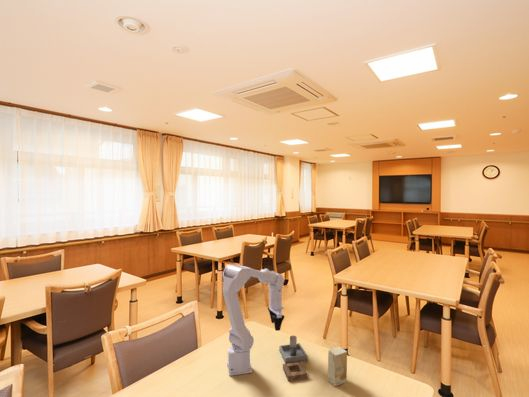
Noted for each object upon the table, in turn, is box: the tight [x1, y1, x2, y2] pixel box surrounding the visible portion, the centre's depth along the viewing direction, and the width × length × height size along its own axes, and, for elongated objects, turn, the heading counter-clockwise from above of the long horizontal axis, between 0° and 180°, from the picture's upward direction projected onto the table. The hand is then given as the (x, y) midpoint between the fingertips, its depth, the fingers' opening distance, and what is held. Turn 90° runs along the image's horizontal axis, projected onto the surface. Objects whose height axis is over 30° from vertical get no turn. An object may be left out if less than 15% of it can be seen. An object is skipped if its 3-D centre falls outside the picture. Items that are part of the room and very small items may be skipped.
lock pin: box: [289, 335, 297, 356], centre depth 128 cm, size 3×3×8 cm
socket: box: [282, 362, 308, 382], centre depth 116 cm, size 8×8×2 cm
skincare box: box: [327, 346, 348, 387], centre depth 111 cm, size 6×4×12 cm
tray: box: [278, 343, 308, 364], centre depth 129 cm, size 10×10×2 cm
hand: (275, 326), depth 135 cm, fingers open, 7 cm apart
